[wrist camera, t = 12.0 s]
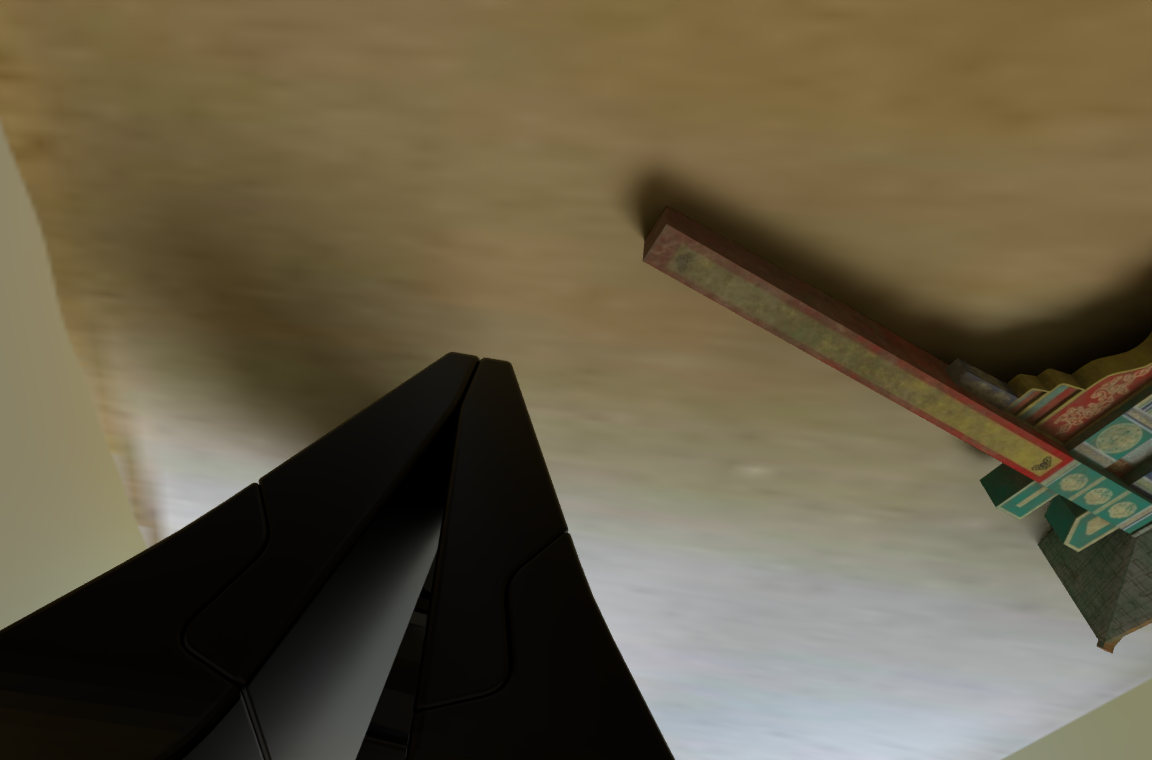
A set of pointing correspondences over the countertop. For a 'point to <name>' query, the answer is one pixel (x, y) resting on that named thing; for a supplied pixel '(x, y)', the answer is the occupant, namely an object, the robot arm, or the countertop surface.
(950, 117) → the countertop surface
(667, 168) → the countertop surface
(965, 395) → the miniature gate
